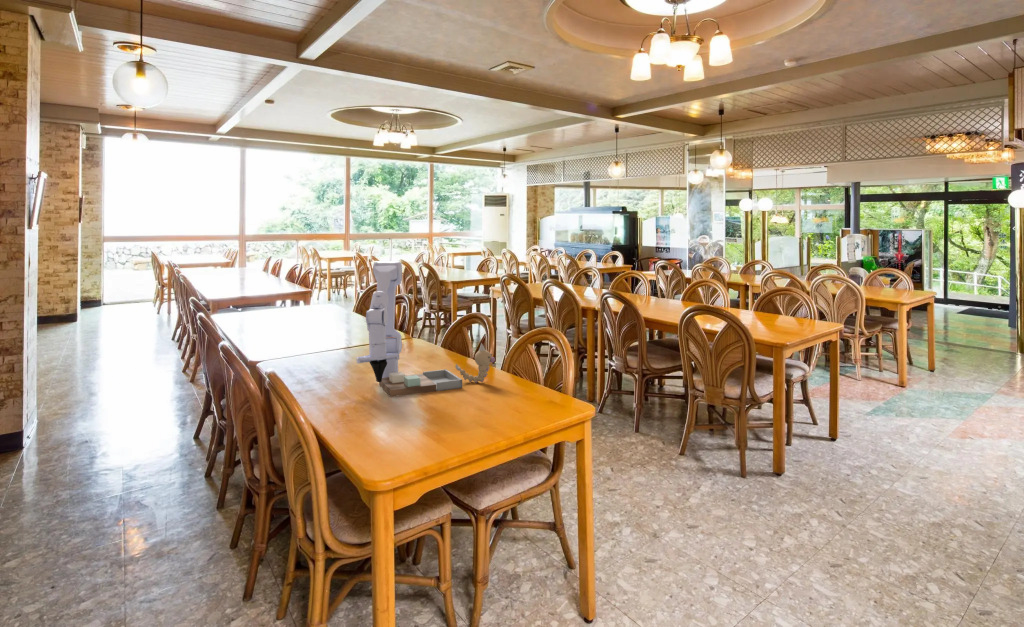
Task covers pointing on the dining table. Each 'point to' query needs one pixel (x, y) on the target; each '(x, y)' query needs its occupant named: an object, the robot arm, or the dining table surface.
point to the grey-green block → (412, 380)
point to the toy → (483, 361)
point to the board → (402, 389)
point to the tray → (444, 379)
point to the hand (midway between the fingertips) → (378, 381)
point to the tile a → (396, 377)
